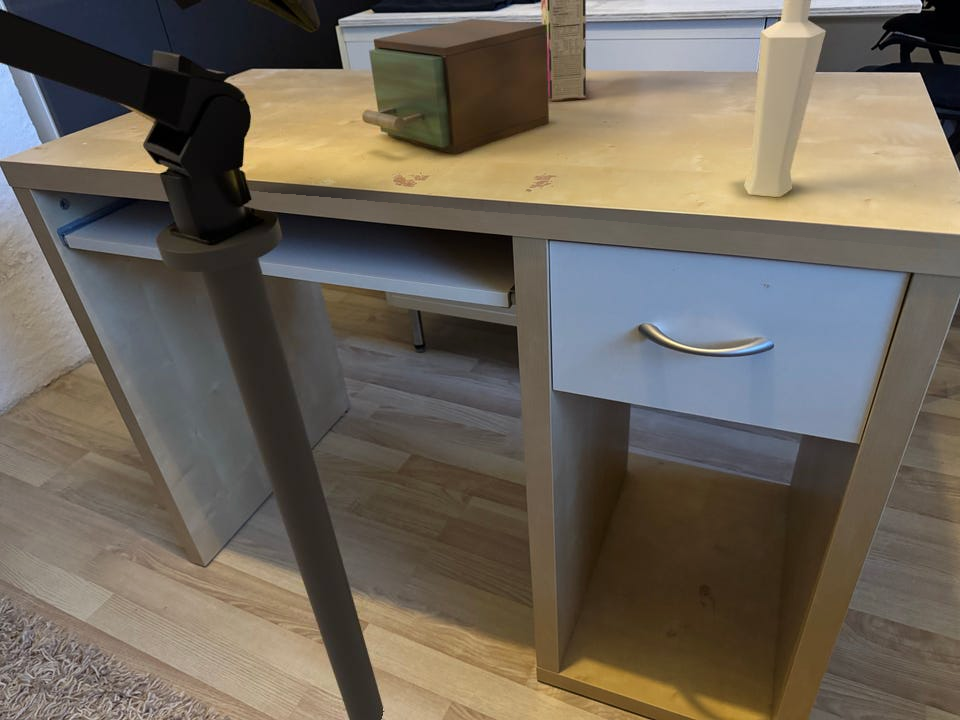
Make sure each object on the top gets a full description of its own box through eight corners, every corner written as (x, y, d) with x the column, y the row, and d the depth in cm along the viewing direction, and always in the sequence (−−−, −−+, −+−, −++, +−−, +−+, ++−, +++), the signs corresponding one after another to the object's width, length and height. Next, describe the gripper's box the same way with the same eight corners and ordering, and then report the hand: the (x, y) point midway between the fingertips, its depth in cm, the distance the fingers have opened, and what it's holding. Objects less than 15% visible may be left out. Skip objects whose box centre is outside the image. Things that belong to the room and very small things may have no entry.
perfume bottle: (752, 176, 61) (780, -13, 53) (801, 185, 59) (838, -13, 50) (727, 191, 59) (752, -5, 50) (778, 201, 56) (813, -4, 48)
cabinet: (455, 154, 73) (445, 47, 68) (387, 136, 82) (373, 39, 76) (549, 122, 81) (547, 24, 75) (478, 108, 89) (471, 18, 83)
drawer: (413, 157, 71) (401, 66, 66) (353, 139, 78) (338, 56, 73) (531, 118, 80) (528, 36, 75) (467, 106, 87) (461, 30, 82)
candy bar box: (541, 84, 98) (538, -49, 89) (576, 81, 98) (576, -52, 89) (548, 102, 89) (545, -43, 80) (586, 99, 89) (588, -47, 80)
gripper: (312, -248, 53) (416, -57, 65) (153, -147, 62) (270, 4, 73) (266, -173, 48) (388, 19, 60) (101, -75, 57) (235, 76, 68)
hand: (316, 28), depth 65 cm, fingers closed
